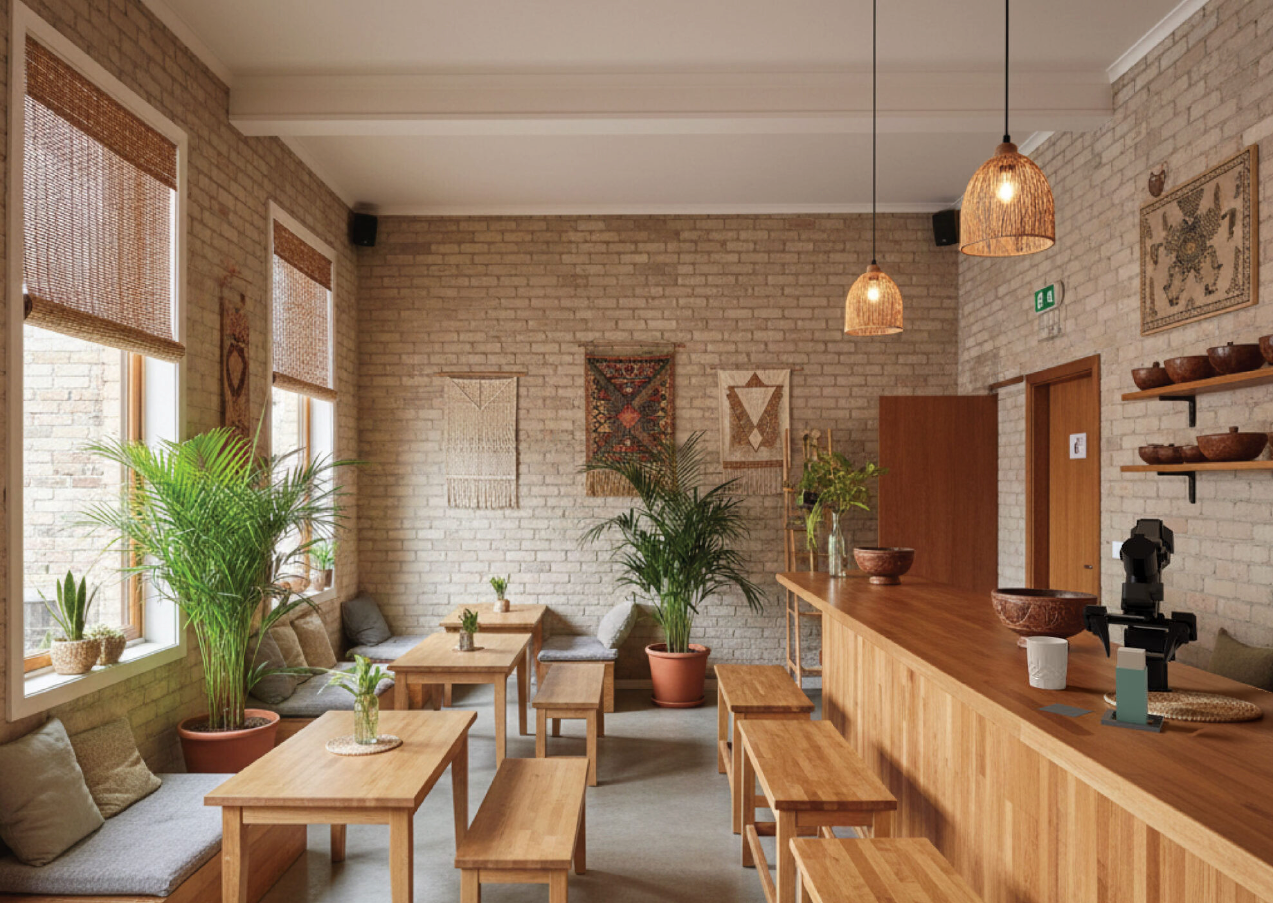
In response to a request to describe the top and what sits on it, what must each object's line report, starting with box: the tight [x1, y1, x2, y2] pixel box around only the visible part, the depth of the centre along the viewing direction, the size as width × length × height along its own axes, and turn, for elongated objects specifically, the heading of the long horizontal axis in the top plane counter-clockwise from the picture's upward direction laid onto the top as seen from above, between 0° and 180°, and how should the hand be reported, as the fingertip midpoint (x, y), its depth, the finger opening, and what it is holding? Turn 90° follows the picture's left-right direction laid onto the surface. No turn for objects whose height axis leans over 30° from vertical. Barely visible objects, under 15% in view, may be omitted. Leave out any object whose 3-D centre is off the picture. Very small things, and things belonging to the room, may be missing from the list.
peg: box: [1115, 646, 1149, 724], centre depth 156 cm, size 4×4×13 cm
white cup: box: [1025, 636, 1069, 690], centre depth 183 cm, size 8×8×10 cm
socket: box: [1100, 708, 1165, 734], centre depth 156 cm, size 12×12×1 cm
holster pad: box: [1038, 702, 1094, 718], centre depth 164 cm, size 7×7×1 cm
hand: (1136, 659), depth 162 cm, fingers open, 9 cm apart
